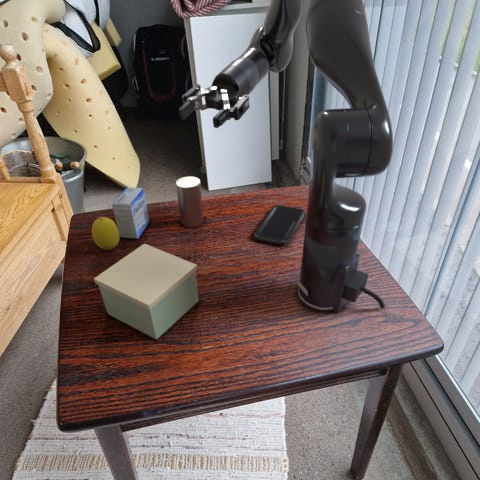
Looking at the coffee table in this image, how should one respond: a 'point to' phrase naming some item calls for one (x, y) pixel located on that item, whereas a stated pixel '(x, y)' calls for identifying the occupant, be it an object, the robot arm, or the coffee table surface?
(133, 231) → the medicine box
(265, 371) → the coffee table surface
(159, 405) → the coffee table surface
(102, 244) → the lemon
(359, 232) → the robot arm
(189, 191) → the tea tin
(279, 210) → the phone
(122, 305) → the storage box
